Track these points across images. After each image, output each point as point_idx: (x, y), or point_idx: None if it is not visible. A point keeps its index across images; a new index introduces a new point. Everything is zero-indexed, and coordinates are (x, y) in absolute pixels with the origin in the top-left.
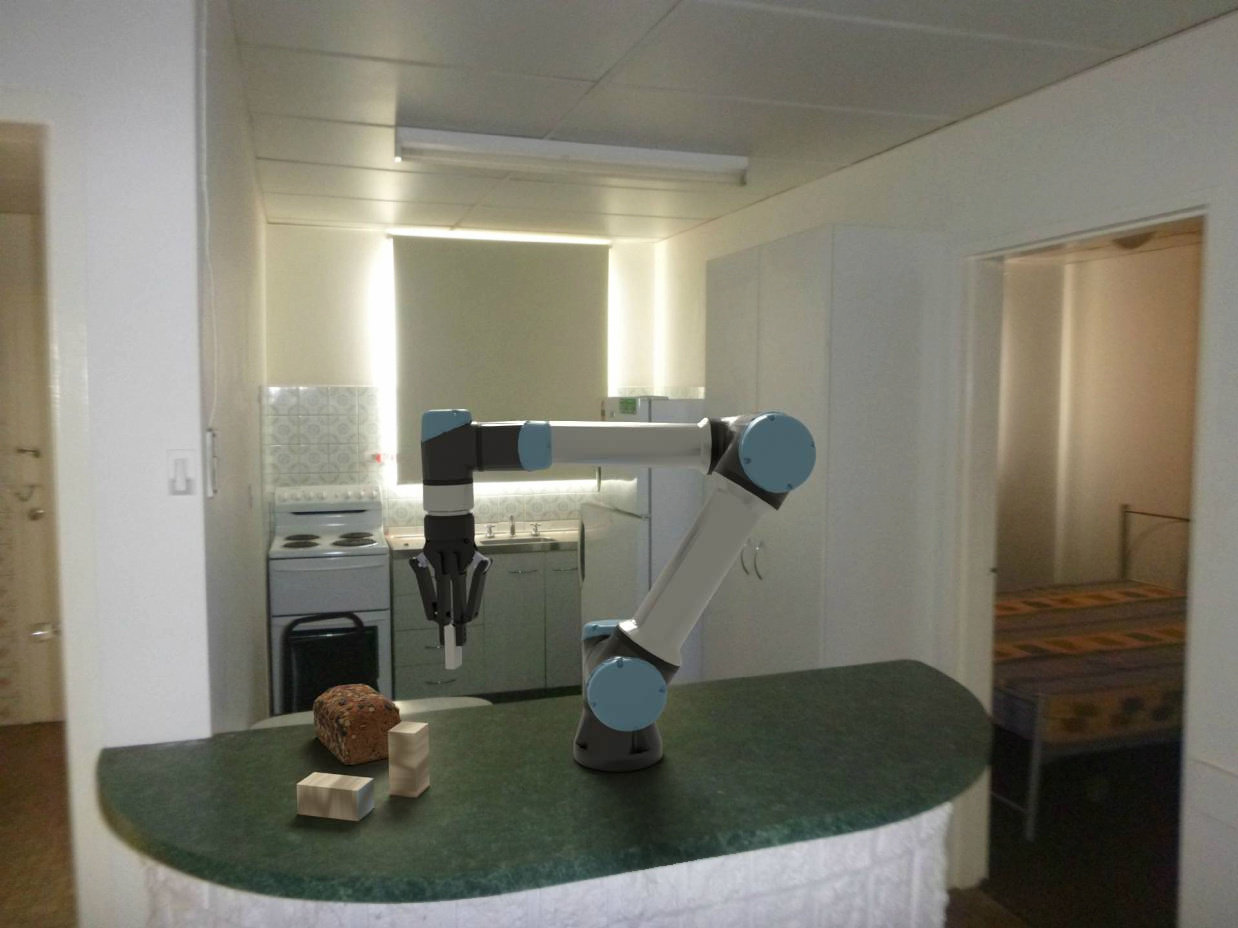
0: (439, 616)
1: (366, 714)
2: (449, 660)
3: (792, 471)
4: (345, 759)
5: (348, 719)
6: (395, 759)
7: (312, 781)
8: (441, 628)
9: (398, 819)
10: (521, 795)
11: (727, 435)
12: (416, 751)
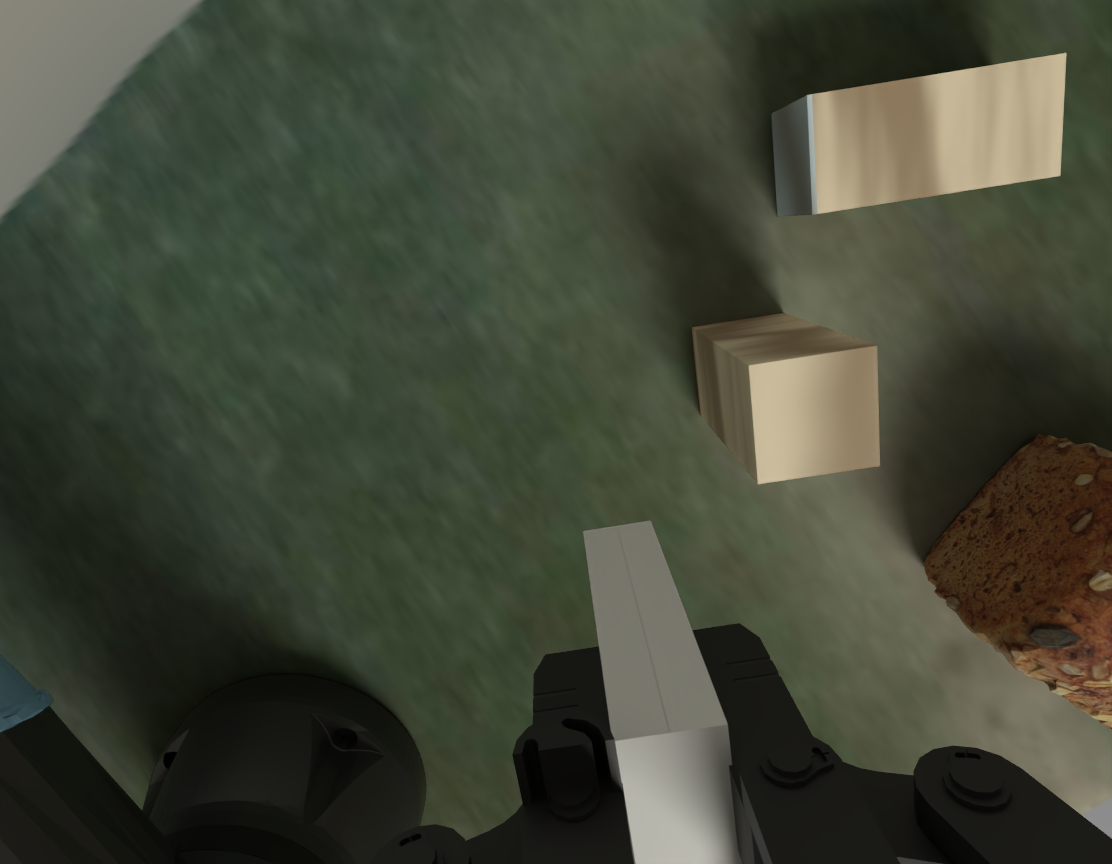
0: (836, 814)
1: (1104, 554)
2: (627, 552)
3: None
4: (1053, 436)
5: None
6: (800, 333)
7: (1019, 100)
8: (778, 728)
9: (656, 173)
10: (402, 457)
11: None
12: (728, 362)
